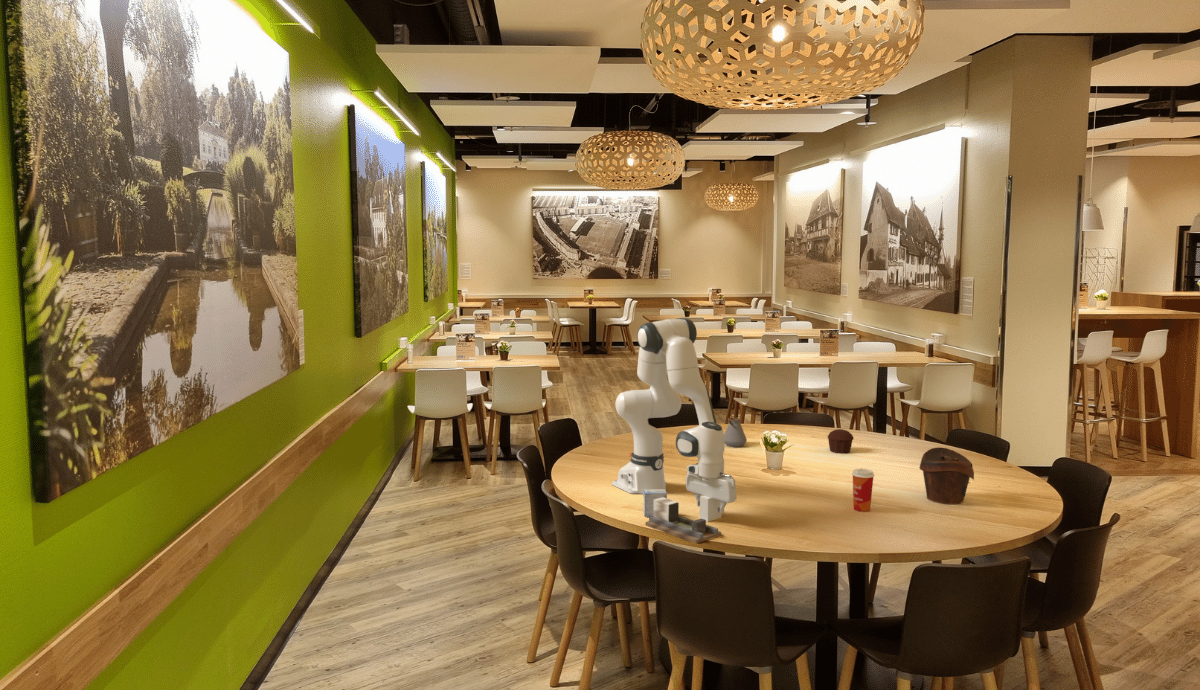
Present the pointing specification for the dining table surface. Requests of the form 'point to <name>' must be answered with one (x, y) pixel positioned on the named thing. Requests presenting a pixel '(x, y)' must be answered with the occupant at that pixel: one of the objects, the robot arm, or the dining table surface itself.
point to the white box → (709, 508)
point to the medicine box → (651, 500)
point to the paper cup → (862, 489)
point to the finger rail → (679, 522)
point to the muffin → (840, 441)
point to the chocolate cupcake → (946, 475)
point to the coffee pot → (734, 433)
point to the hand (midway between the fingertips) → (710, 509)
